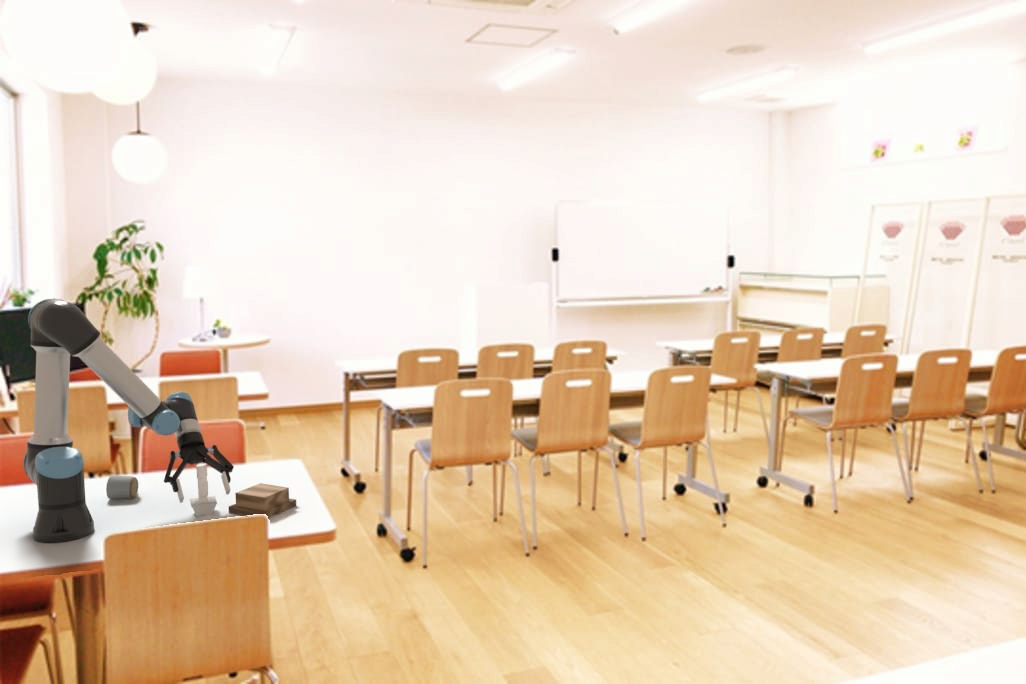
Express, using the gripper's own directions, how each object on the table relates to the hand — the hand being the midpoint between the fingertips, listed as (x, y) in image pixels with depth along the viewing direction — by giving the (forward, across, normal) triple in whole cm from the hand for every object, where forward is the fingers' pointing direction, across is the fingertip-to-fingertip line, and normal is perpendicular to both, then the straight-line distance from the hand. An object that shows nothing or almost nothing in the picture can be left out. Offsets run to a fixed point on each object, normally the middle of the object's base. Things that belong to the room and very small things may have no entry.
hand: (205, 496), depth 255 cm
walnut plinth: (+8, -15, 0) cm, 17 cm away
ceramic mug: (-19, +16, -27) cm, 37 cm away
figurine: (+3, 0, -5) cm, 6 cm away
